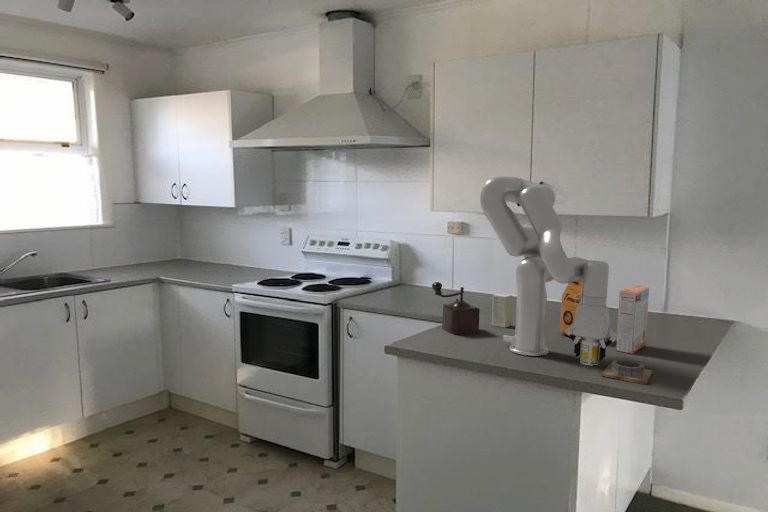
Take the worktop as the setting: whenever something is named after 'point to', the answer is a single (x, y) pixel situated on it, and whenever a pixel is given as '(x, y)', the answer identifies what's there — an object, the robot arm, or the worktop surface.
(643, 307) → the cracker box
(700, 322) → the worktop surface
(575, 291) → the coffee package
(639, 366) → the socket board
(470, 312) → the manual coffee grinder
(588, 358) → the supplement bottle
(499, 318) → the skincare box
